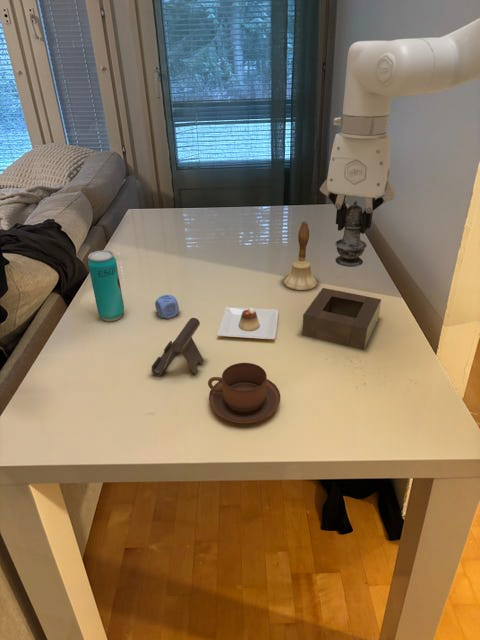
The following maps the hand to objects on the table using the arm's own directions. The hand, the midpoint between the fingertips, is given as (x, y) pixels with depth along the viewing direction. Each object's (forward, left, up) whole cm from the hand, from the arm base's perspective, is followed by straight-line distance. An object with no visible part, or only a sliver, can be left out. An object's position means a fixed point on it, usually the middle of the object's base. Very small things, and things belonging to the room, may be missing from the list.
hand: (352, 228), depth 88 cm
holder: (0, 0, -22) cm, 22 cm away
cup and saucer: (+8, +31, -22) cm, 39 cm away
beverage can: (+48, +17, -22) cm, 56 cm away
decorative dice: (+37, +11, -22) cm, 45 cm away
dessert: (+18, +8, -22) cm, 30 cm away
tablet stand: (+24, +26, -22) cm, 42 cm away
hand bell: (+15, -16, -22) cm, 32 cm away
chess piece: (0, 0, -7) cm, 7 cm away
